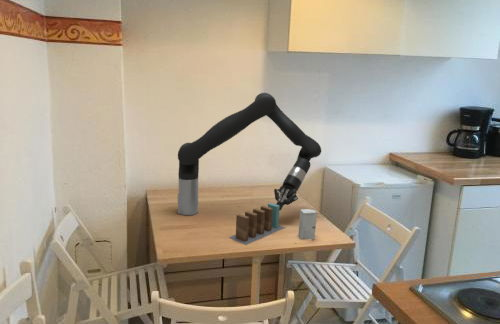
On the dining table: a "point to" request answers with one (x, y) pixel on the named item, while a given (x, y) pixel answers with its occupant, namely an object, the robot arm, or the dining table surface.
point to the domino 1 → (242, 227)
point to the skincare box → (307, 224)
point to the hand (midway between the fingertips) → (276, 210)
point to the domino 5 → (275, 214)
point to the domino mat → (257, 236)
